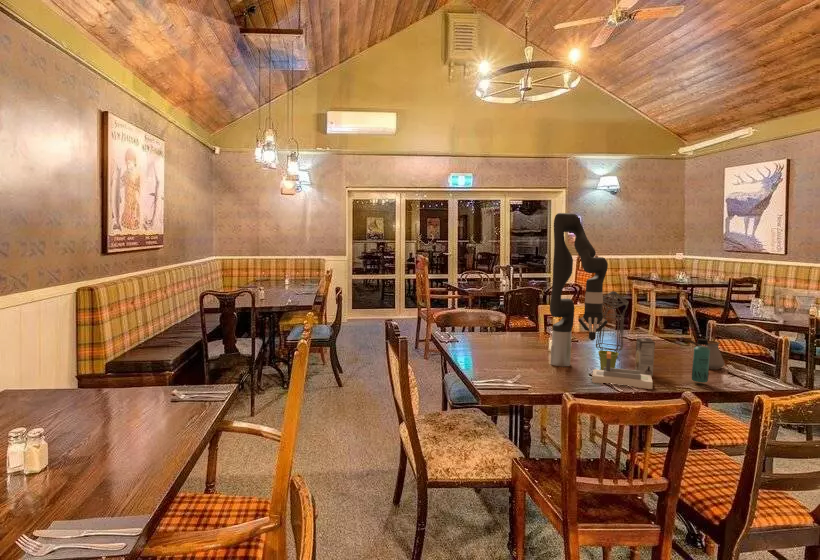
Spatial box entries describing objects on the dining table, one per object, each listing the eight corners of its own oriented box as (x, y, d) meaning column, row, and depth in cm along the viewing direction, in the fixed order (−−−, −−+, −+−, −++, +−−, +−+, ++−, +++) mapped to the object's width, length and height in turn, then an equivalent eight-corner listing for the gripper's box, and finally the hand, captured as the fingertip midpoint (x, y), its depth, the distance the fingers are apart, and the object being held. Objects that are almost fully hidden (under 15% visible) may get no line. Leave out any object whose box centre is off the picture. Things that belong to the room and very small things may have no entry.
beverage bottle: (687, 381, 227) (690, 337, 225) (701, 381, 227) (704, 337, 226) (697, 386, 220) (700, 340, 218) (711, 385, 221) (714, 340, 219)
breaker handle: (604, 374, 224) (605, 353, 224) (604, 371, 230) (605, 351, 229) (611, 375, 223) (612, 354, 222) (611, 371, 228) (612, 351, 228)
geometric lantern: (595, 350, 288) (599, 289, 285) (625, 354, 281) (630, 291, 278) (592, 355, 274) (596, 291, 271) (623, 360, 267) (628, 294, 264)
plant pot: (621, 370, 244) (622, 352, 244) (613, 374, 238) (613, 355, 237) (602, 366, 251) (603, 349, 250) (593, 370, 244) (594, 352, 244)
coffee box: (634, 370, 245) (636, 337, 244) (648, 371, 244) (650, 338, 243) (638, 375, 236) (640, 341, 235) (653, 376, 235) (655, 342, 234)
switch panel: (592, 382, 223) (592, 371, 223) (593, 375, 235) (593, 364, 234) (652, 389, 215) (652, 377, 214) (650, 381, 226) (651, 370, 225)
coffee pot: (716, 364, 258) (718, 335, 257) (729, 370, 247) (731, 340, 246) (673, 363, 260) (675, 334, 258) (684, 369, 248) (686, 339, 247)
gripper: (577, 301, 226) (576, 340, 227) (609, 303, 221) (607, 342, 222) (578, 300, 232) (577, 337, 234) (609, 301, 228) (608, 339, 229)
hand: (592, 340), depth 228 cm, fingers closed
